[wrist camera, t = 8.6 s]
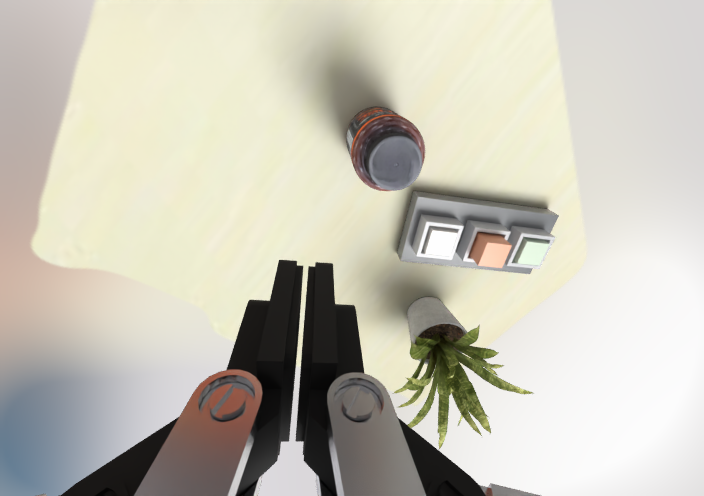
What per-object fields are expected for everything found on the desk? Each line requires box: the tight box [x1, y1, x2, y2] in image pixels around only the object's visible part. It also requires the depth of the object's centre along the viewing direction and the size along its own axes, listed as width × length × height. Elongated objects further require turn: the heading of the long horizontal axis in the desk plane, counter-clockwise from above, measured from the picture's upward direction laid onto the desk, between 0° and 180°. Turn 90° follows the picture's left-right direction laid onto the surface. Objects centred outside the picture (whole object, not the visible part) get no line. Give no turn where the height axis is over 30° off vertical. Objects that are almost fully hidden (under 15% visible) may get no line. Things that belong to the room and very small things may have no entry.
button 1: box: [422, 226, 458, 256], centre depth 36 cm, size 3×3×2 cm
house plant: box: [394, 297, 532, 449], centre depth 38 cm, size 14×14×16 cm
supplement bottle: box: [346, 107, 425, 191], centre depth 28 cm, size 6×6×11 cm
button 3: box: [513, 237, 550, 266], centre depth 37 cm, size 3×3×2 cm
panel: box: [397, 191, 559, 274], centre depth 38 cm, size 8×17×4 cm, turn 80°
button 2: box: [469, 232, 512, 268], centre depth 35 cm, size 3×3×2 cm
